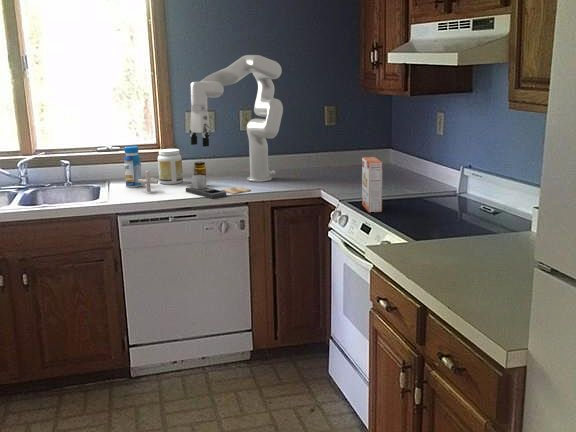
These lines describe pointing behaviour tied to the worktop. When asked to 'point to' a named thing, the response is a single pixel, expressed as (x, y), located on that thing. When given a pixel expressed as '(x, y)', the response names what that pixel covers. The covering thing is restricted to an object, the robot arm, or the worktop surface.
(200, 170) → the condiment
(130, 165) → the beverage bottle
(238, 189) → the oak coaster
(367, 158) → the cracker box
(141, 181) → the pipe connector
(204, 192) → the rack rail
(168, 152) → the supplement tub
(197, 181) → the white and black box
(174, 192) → the worktop surface
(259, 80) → the robot arm
